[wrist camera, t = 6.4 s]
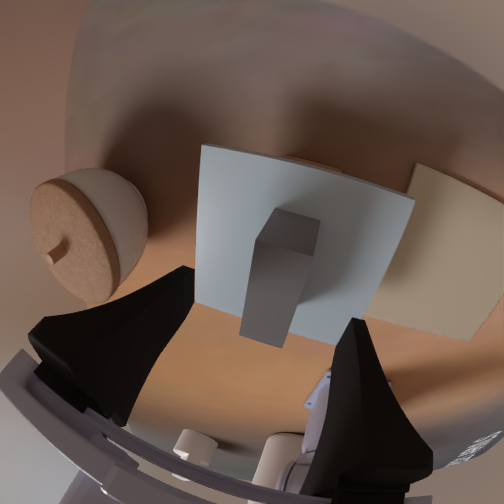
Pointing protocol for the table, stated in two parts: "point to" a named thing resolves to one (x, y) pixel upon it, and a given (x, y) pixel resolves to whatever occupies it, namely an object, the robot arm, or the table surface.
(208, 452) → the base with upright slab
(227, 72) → the table surface
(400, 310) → the mat
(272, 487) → the wine bottle
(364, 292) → the cover
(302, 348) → the table surface
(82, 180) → the lidded jar
